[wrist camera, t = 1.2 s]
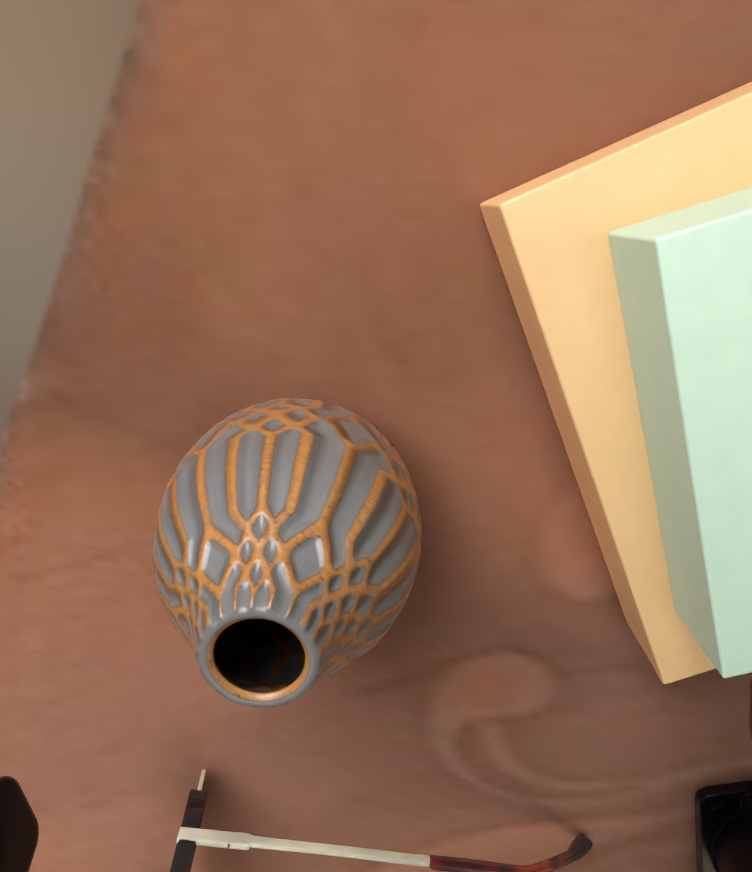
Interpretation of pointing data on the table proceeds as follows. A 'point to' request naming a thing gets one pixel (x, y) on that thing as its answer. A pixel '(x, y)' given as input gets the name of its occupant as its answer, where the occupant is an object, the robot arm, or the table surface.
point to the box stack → (652, 366)
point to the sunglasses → (339, 847)
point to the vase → (286, 546)
